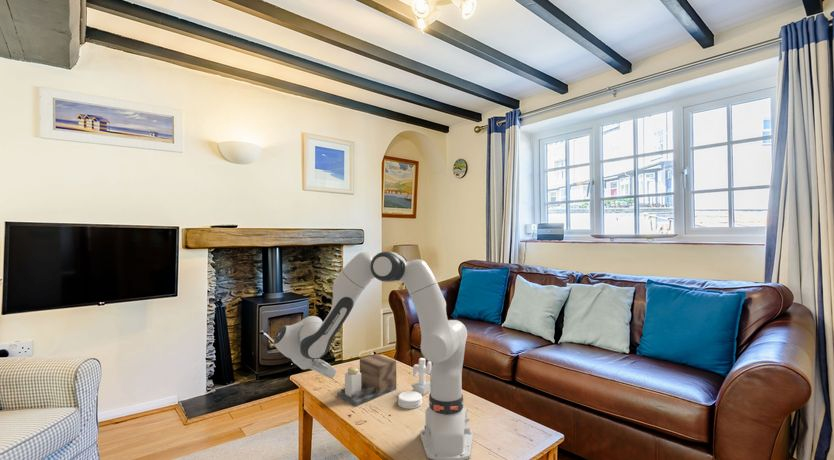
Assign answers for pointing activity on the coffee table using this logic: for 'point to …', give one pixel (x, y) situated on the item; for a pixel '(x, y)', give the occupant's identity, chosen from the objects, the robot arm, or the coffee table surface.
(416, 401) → the coaster
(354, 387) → the knob
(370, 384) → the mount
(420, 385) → the figurine
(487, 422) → the coffee table surface
